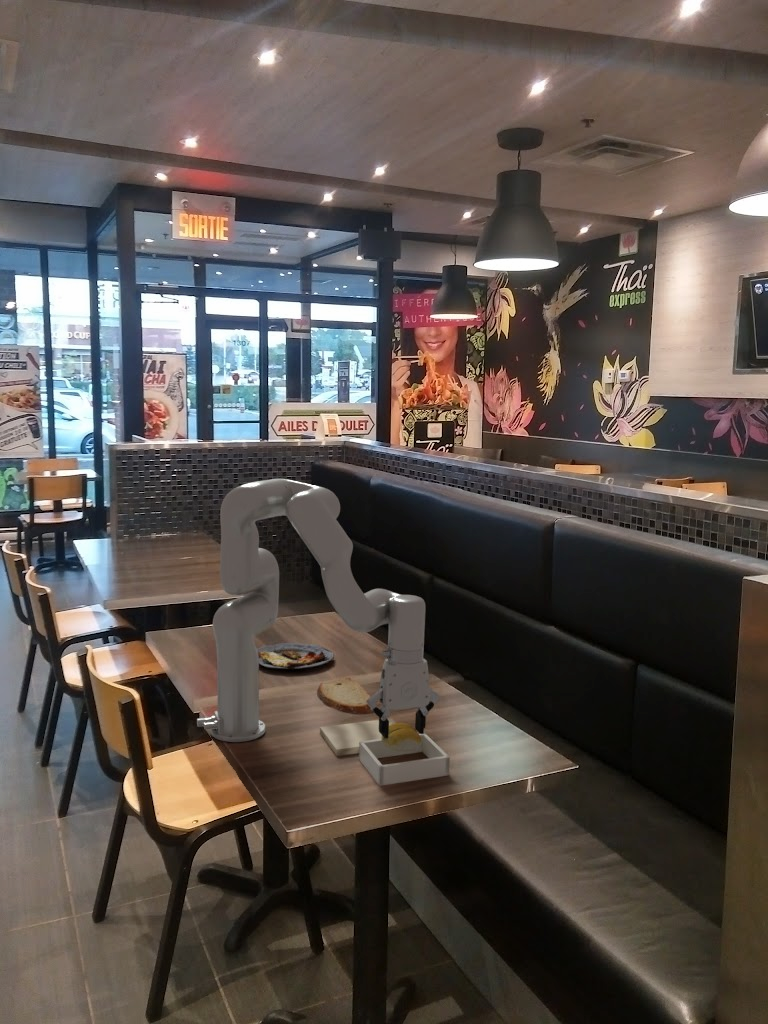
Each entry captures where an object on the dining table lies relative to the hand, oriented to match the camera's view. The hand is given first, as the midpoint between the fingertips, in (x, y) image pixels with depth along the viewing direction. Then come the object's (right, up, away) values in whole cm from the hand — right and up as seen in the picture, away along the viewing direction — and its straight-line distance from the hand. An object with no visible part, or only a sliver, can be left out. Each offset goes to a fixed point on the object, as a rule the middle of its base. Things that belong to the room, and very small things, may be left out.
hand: (401, 733), depth 177 cm
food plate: (-31, +3, +69) cm, 76 cm away
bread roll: (0, -3, 0) cm, 3 cm away
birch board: (-8, -5, +15) cm, 18 cm away
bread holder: (0, -7, +1) cm, 8 cm away
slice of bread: (-13, -2, +40) cm, 42 cm away
